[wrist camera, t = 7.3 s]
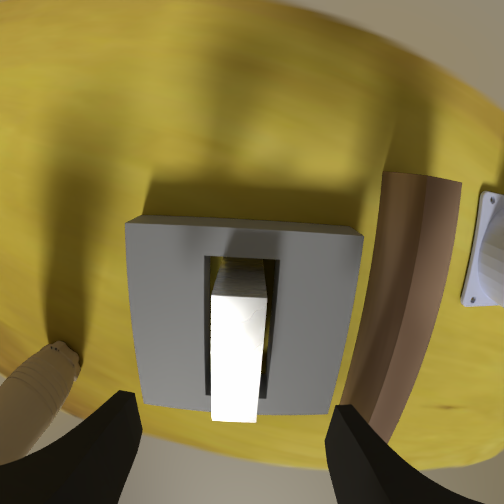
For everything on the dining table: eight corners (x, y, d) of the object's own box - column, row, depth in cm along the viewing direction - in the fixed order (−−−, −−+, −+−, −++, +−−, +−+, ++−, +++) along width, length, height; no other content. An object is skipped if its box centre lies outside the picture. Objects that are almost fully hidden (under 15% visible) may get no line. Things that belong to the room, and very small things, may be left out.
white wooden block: (262, 258, 18) (267, 298, 12) (254, 362, 20) (255, 422, 14) (222, 256, 18) (211, 295, 12) (220, 360, 20) (212, 420, 14)
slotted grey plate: (349, 226, 17) (364, 236, 15) (320, 390, 20) (327, 413, 18) (141, 214, 17) (125, 223, 15) (153, 380, 20) (144, 403, 18)
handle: (28, 318, 19) (-99, 439, 4) (99, 341, 19) (-19, 512, 5) (38, 368, 20) (-59, 491, 6) (104, 392, 20) (22, 550, 6)
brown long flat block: (412, 175, 16) (461, 182, 12) (358, 419, 21) (375, 465, 16) (382, 171, 16) (427, 175, 11) (334, 420, 21) (348, 469, 16)
